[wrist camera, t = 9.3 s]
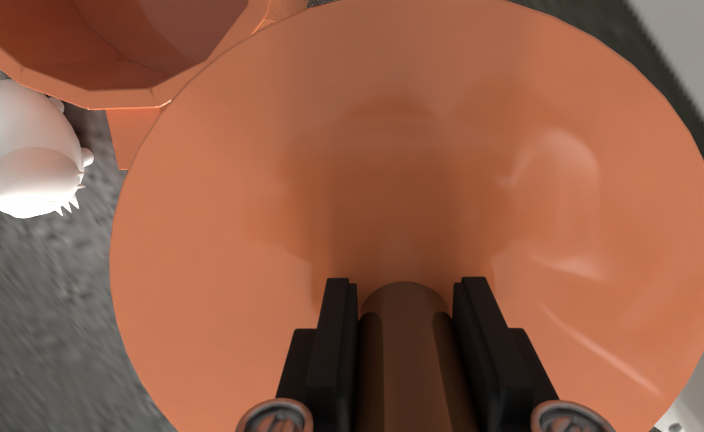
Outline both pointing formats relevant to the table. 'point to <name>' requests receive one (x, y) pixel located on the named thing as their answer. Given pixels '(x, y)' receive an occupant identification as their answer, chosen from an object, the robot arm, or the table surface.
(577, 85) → the lid
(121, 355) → the table surface
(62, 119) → the toy creature
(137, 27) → the pot
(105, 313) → the table surface
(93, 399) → the table surface
